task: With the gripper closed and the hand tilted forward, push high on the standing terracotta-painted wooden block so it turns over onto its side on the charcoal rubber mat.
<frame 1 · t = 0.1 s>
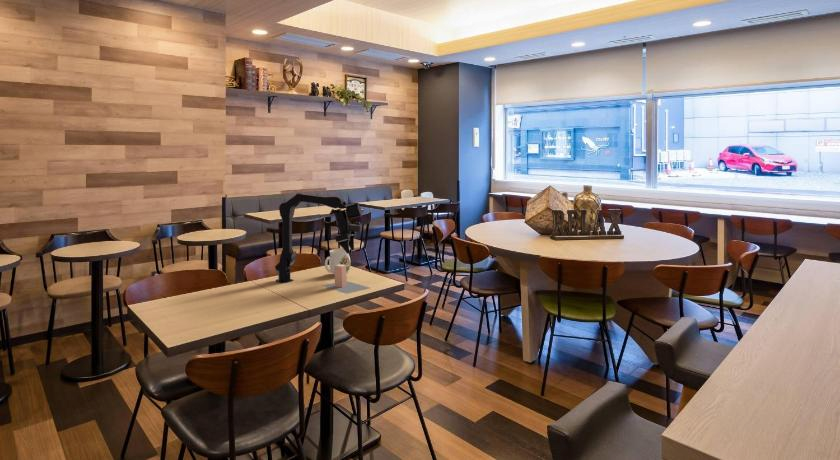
hand: (350, 251, 249), 15 cm above the table, tool pointing down, fingers open, 9 cm apart
pitcher: (338, 276, 266), on the table
mat: (346, 287, 241), on the table
block: (340, 286, 243), resting on mat
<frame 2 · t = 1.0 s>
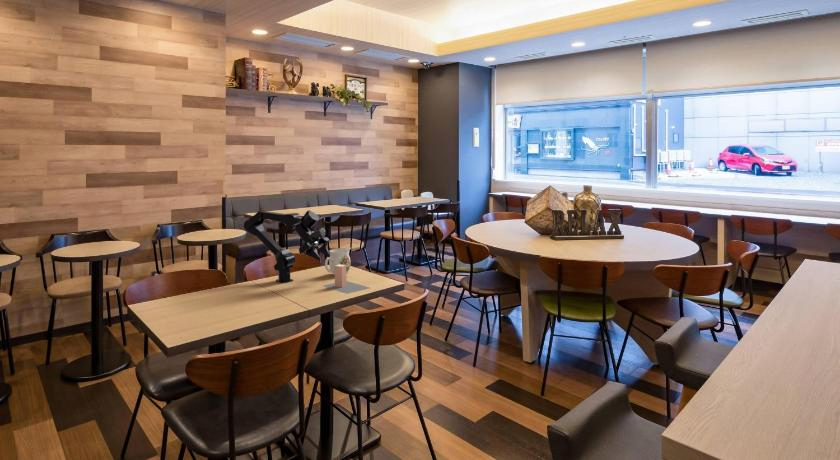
hand: (325, 258, 244), 13 cm above the table, tool tilted 45°, fingers open, 8 cm apart
nothing on the table moved.
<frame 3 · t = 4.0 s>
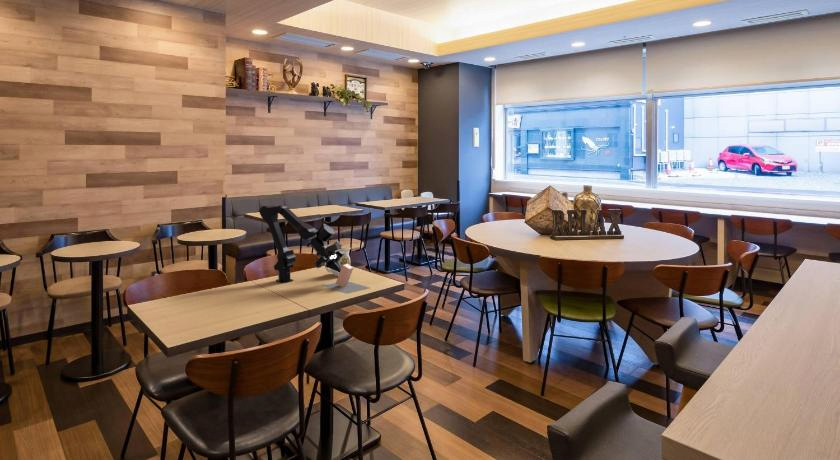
hand: (341, 271, 241), 7 cm above the table, tool tilted 45°, fingers closed
block: (341, 284, 243), point 1 cm above the table, tilted 25°, touching mat
everything else where it was.
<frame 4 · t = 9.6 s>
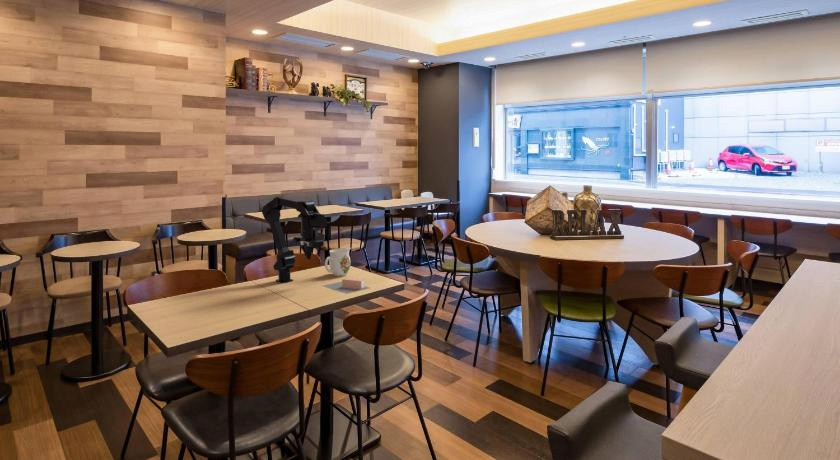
hand: (308, 259, 244), 13 cm above the table, tool pointing down, fingers closed
block: (344, 282, 242), point 2 cm above the table, tilted 90°, touching mat
everything else where it was.
at the end: block tilted 90°; block inside the target area (4.0 cm from its centre), point 2.4 cm above the table; block point 2.4 cm above the table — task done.
